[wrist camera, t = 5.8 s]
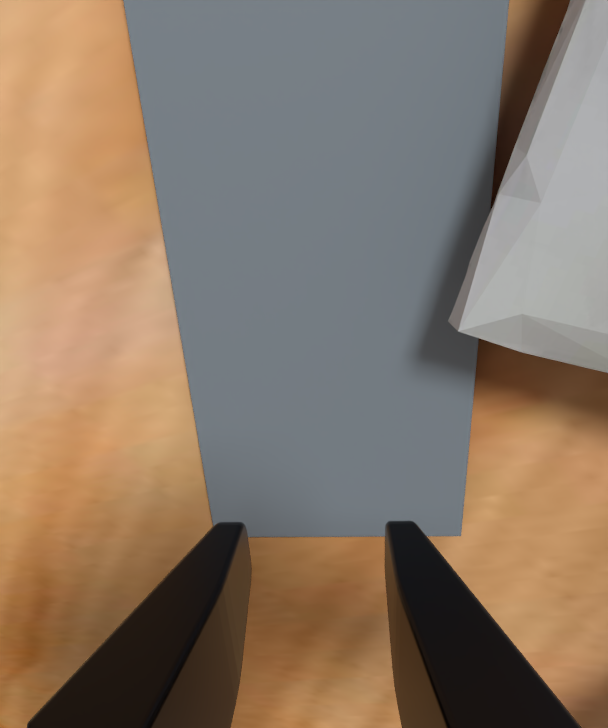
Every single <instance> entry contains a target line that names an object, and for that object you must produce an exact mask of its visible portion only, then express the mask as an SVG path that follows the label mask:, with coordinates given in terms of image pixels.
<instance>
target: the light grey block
mask: <svg viewBox="0 0 608 728" xmlns="http://www.w3.org/2000/svg"><path fill="white" fill-rule="evenodd" d="M448 322H449V323H450V324H451V325H452V326H453V327H454V328H455V329H456V330H457V331H458V332H461V333H464V334H467V335H471V336H474V337H477V338H480V339H483V340H486V341H489V342H492V343H495V344H498V345H501V346H504V347H507V348H510V349H513V350H516V351H519V352H522V353H526V354H531V355H535V356H539V357H543V358H547V359H551V360H556V361H560V362H564V363H568V364H572V365H577V366H581V367H585V368H589V369H593V370H598V371H602V372H606V373H608V0H570V2H569V6H568V9H567V12H566V15H565V17H564V20H563V22H562V25H561V27H560V30H559V32H558V35H557V37H556V40H555V42H554V45H553V47H552V50H551V53H550V55H549V58H548V60H547V63H546V65H545V68H544V71H543V73H542V76H541V79H540V81H539V84H538V86H537V89H536V92H535V94H534V97H533V100H532V102H531V105H530V107H529V110H528V113H527V115H526V118H525V121H524V123H523V126H522V128H521V131H520V134H519V136H518V139H517V142H516V144H515V147H514V150H513V152H512V155H511V158H510V160H509V163H508V166H507V169H506V171H505V174H504V177H503V179H502V182H501V185H500V188H499V190H498V193H497V196H496V199H495V202H494V205H493V207H492V209H491V211H490V213H489V215H488V218H487V220H486V222H485V224H484V227H483V229H482V232H481V234H480V237H479V239H478V242H477V244H476V247H475V250H474V252H473V255H472V257H471V260H470V262H469V266H468V270H467V273H466V276H465V279H464V282H463V284H462V287H461V290H460V292H459V295H458V298H457V300H456V303H455V306H454V308H453V311H452V313H451V315H450V317H449V320H448Z"/></svg>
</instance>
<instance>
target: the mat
mask: <svg viewBox="0 0 608 728" xmlns="http://www.w3.org/2000/svg"><path fill="white" fill-rule="evenodd" d="M123 1H124V7H125V13H126V19H127V25H128V30H129V36H130V42H131V48H132V54H133V60H134V66H135V71H136V77H137V83H138V89H139V95H140V101H141V107H142V112H143V118H144V124H145V130H146V136H147V142H148V147H149V153H150V159H151V165H152V171H153V177H154V183H155V188H156V194H157V200H158V206H159V212H160V218H161V223H162V229H163V235H164V241H165V247H166V253H167V259H168V264H169V270H170V276H171V282H172V288H173V294H174V299H175V305H176V311H177V317H178V323H179V329H180V335H181V340H182V346H183V352H184V358H185V364H186V370H187V376H188V381H189V387H190V393H191V399H192V405H193V411H194V416H195V422H196V428H197V434H198V440H199V446H200V452H201V457H202V463H203V469H204V475H205V481H206V487H207V492H208V498H209V504H210V510H211V516H212V522H213V526H214V525H215V524H217V523H219V522H242V523H244V524H245V526H246V529H247V535H248V537H364V536H385V525H386V523H387V522H388V521H413V522H415V523H416V524H417V525H418V526H419V528H420V529H421V530H422V531H423V533H424V534H425V535H426V536H461V529H462V518H463V507H464V496H465V485H466V474H467V463H468V452H469V441H470V429H471V418H472V407H473V396H474V385H475V374H476V363H477V352H478V340H479V338H477V337H474V336H471V335H467V334H464V333H461V332H458V331H457V330H456V329H455V328H454V327H453V326H452V325H451V324H450V323H449V322H448V320H449V317H450V315H451V313H452V311H453V308H454V306H455V303H456V300H457V298H458V295H459V292H460V290H461V287H462V284H463V282H464V279H465V276H466V273H467V270H468V266H469V262H470V260H471V257H472V255H473V252H474V250H475V247H476V244H477V242H478V239H479V237H480V234H481V232H482V229H483V227H484V224H485V222H486V220H487V218H488V215H489V213H490V207H491V196H492V185H493V174H494V163H495V151H496V140H497V129H498V118H499V107H500V96H501V85H502V74H503V63H504V51H505V40H506V29H507V18H508V7H509V0H123Z"/></svg>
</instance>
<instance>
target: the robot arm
mask: <svg viewBox="0 0 608 728" xmlns="http://www.w3.org/2000/svg"><path fill="white" fill-rule="evenodd" d="M251 569H252V568H251V557H250V550H249V542H248V535H247V529H246V526H245V524H244V523H242V522H219V523H217V524H215V525H214V526H213V527H212V528H211V529H210V530H209V532H208V533H207V534H206V535H205V536H204V537H203V538H202V539H201V540H200V541H199V542H198V543H197V544H196V545H195V546H194V547H193V548H192V549H191V551H190V552H189V553H188V554H187V555H186V556H185V557H184V558H183V559H182V560H181V561H180V562H179V563H178V564H177V565H176V566H175V567H174V569H173V570H172V571H171V572H170V573H169V574H168V575H167V576H166V577H165V578H164V579H163V580H162V581H161V582H160V583H159V584H158V585H157V586H156V588H155V589H154V590H153V591H152V592H151V593H150V594H149V595H148V596H147V597H146V598H145V599H144V600H143V601H142V602H141V603H140V604H139V606H138V607H137V608H136V609H135V610H134V611H133V612H132V613H131V614H130V615H129V616H128V617H127V618H126V619H125V620H124V621H123V622H122V623H121V625H120V626H119V627H118V628H117V629H116V630H115V631H114V632H113V633H112V634H111V635H110V636H109V637H108V638H107V639H106V640H105V641H104V643H103V644H102V645H101V646H100V647H99V648H98V649H97V650H96V651H95V652H94V653H93V654H92V655H91V656H90V657H89V658H88V659H87V661H86V662H85V663H84V664H83V665H82V666H81V667H80V668H79V669H78V670H77V671H76V672H75V673H74V674H73V675H72V676H71V677H70V678H69V680H68V681H67V682H66V683H65V684H64V685H63V686H62V687H61V688H60V689H59V690H58V691H57V692H56V693H55V694H54V695H53V696H52V698H51V699H50V700H49V701H48V702H47V703H46V704H45V705H44V706H43V707H42V708H41V709H40V710H39V711H38V712H37V713H36V714H35V715H34V717H33V718H32V719H31V720H30V721H29V722H28V724H27V728H231V723H232V718H233V714H234V709H235V705H236V700H237V694H238V689H239V684H240V676H241V668H242V660H243V651H244V641H245V632H246V623H247V613H248V604H249V595H250V585H251ZM385 580H386V593H387V605H388V618H389V630H390V643H391V655H392V667H393V677H394V686H395V692H396V698H397V704H398V709H399V715H400V720H401V725H402V728H581V726H580V725H579V724H578V723H577V721H576V720H575V719H574V718H573V716H572V715H571V714H570V713H569V711H568V710H567V709H566V708H565V707H564V705H563V704H562V703H561V702H560V700H559V699H558V698H557V697H556V695H555V694H554V693H553V692H552V690H551V689H550V688H549V687H548V686H547V684H546V683H545V682H544V681H543V679H542V678H541V677H540V676H539V674H538V673H537V672H536V671H535V670H534V668H533V667H532V666H531V665H530V663H529V662H528V661H527V660H526V658H525V657H524V656H523V655H522V653H521V652H520V651H519V650H518V649H517V647H516V646H515V645H514V644H513V642H512V641H511V640H510V639H509V637H508V636H507V635H506V634H505V633H504V631H503V630H502V629H501V628H500V626H499V625H498V624H497V623H496V621H495V620H494V619H493V618H492V616H491V615H490V614H489V613H488V612H487V610H486V609H485V608H484V607H483V605H482V604H481V603H480V602H479V600H478V599H477V598H476V597H475V596H474V594H473V593H472V592H471V591H470V589H469V588H468V587H467V586H466V584H465V583H464V582H463V581H462V579H461V578H460V577H459V576H458V575H457V573H456V572H455V571H454V570H453V568H452V567H451V566H450V565H449V563H448V562H447V561H446V560H445V559H444V557H443V556H442V555H441V554H440V552H439V551H438V550H437V549H436V547H435V546H434V545H433V544H432V542H431V541H430V540H429V539H428V538H427V536H426V535H425V534H424V533H423V531H422V530H421V529H420V528H419V526H418V525H417V524H416V523H415V522H413V521H388V522H387V523H386V525H385Z"/></svg>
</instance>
